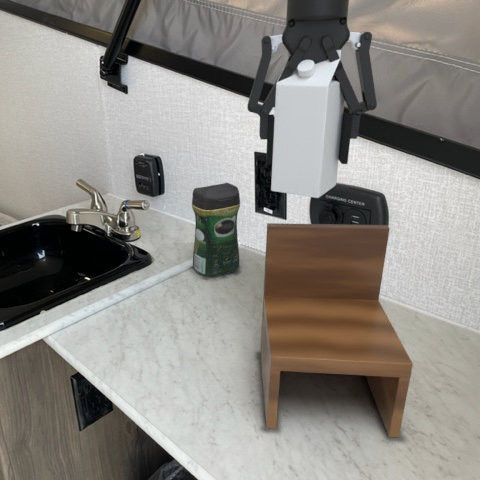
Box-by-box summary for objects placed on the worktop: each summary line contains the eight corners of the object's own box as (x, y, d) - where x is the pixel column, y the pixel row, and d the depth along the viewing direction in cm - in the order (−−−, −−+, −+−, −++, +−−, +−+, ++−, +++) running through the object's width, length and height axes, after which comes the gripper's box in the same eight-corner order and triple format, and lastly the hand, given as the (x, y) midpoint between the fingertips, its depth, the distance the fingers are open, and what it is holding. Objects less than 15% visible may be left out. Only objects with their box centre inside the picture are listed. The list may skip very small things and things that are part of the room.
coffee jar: (225, 257, 112) (226, 177, 105) (244, 271, 105) (247, 186, 98) (187, 266, 108) (185, 184, 101) (204, 281, 101) (204, 194, 94)
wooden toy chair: (398, 437, 61) (429, 278, 53) (266, 428, 63) (276, 274, 55) (366, 359, 76) (387, 224, 67) (260, 353, 78) (267, 223, 70)
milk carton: (290, 180, 77) (298, 49, 70) (336, 186, 73) (350, 48, 66) (270, 191, 72) (277, 52, 65) (318, 199, 68) (331, 51, 61)
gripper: (229, -11, 61) (226, 168, 69) (422, -22, 57) (395, 168, 66) (230, -7, 68) (228, 155, 76) (403, -16, 64) (380, 155, 73)
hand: (305, 161), depth 71 cm, fingers closed on milk carton, 9 cm apart
